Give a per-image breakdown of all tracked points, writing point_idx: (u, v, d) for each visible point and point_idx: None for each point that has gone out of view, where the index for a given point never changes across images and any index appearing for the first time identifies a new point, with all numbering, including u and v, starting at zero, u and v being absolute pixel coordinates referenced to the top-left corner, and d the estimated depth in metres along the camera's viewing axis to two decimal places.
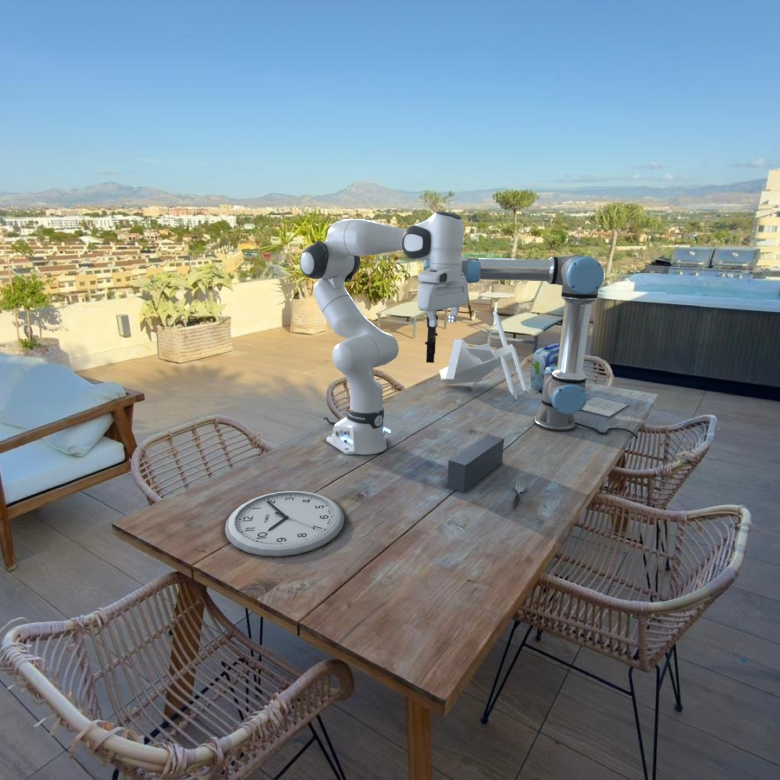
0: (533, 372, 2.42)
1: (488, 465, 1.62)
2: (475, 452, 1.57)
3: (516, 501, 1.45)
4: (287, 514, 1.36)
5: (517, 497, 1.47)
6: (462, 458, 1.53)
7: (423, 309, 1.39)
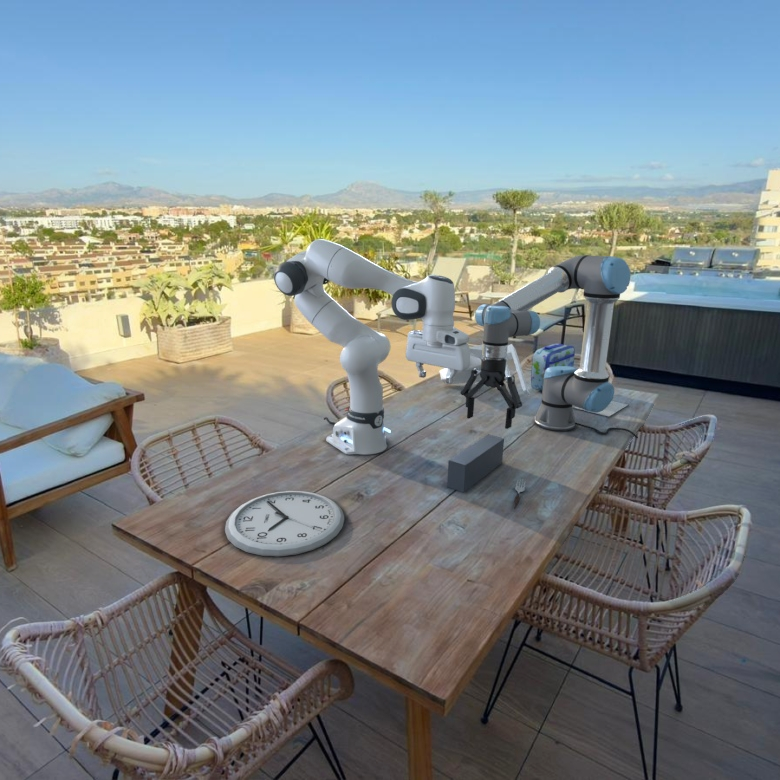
0: (533, 372, 2.42)
1: (488, 465, 1.62)
2: (475, 452, 1.57)
3: (516, 501, 1.45)
4: (287, 514, 1.36)
5: (517, 497, 1.47)
6: (462, 458, 1.53)
7: None
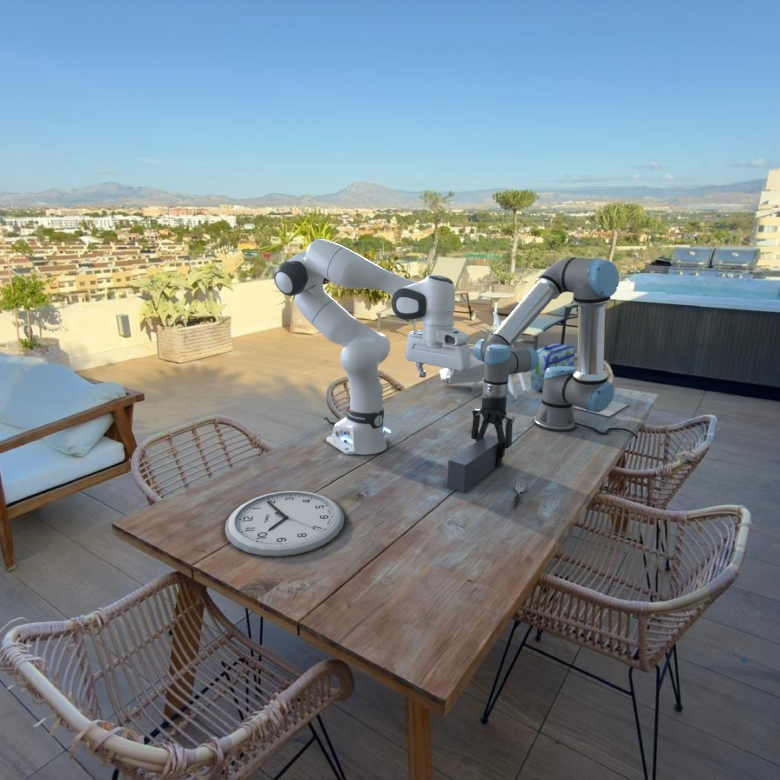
0: (533, 372, 2.42)
1: (488, 465, 1.62)
2: (475, 452, 1.57)
3: (516, 501, 1.45)
4: (287, 514, 1.36)
5: (517, 497, 1.47)
6: (462, 458, 1.53)
7: None
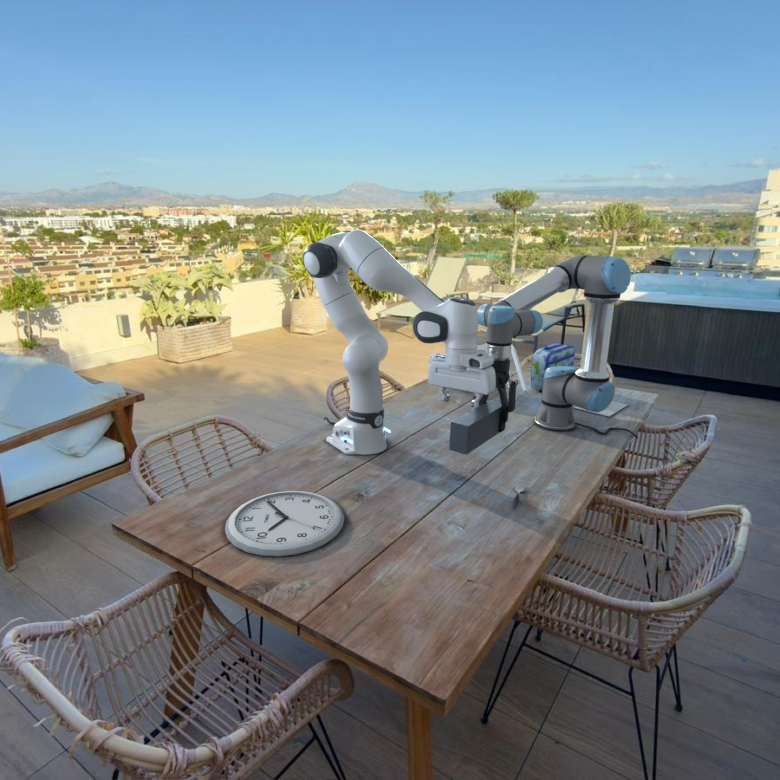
0: (533, 372, 2.42)
1: (491, 430, 1.58)
2: (478, 415, 1.54)
3: (516, 501, 1.45)
4: (287, 514, 1.36)
5: (517, 497, 1.47)
6: (464, 420, 1.49)
7: (492, 392, 1.42)
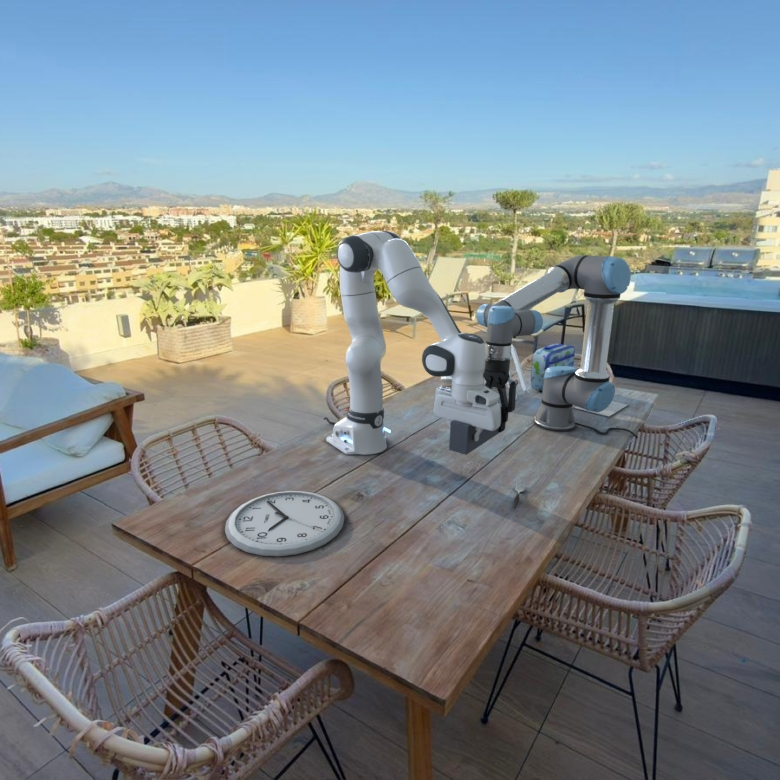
0: (533, 372, 2.42)
1: None
2: None
3: (516, 501, 1.45)
4: (287, 514, 1.36)
5: (517, 497, 1.47)
6: None
7: (496, 428, 1.44)
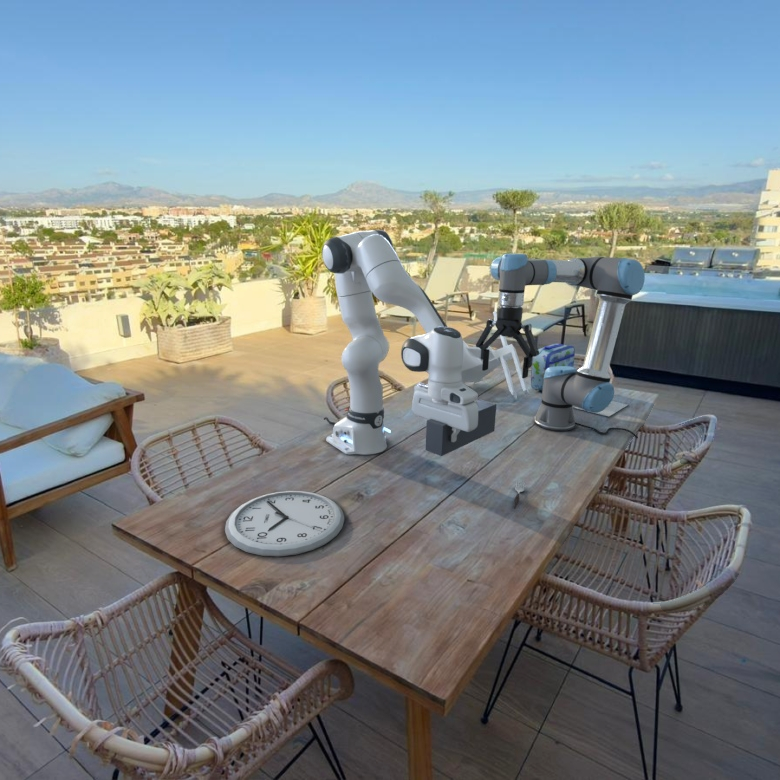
0: (533, 372, 2.42)
1: (475, 431, 1.49)
2: None
3: (516, 501, 1.45)
4: (287, 514, 1.36)
5: (517, 497, 1.47)
6: None
7: (473, 429, 1.34)
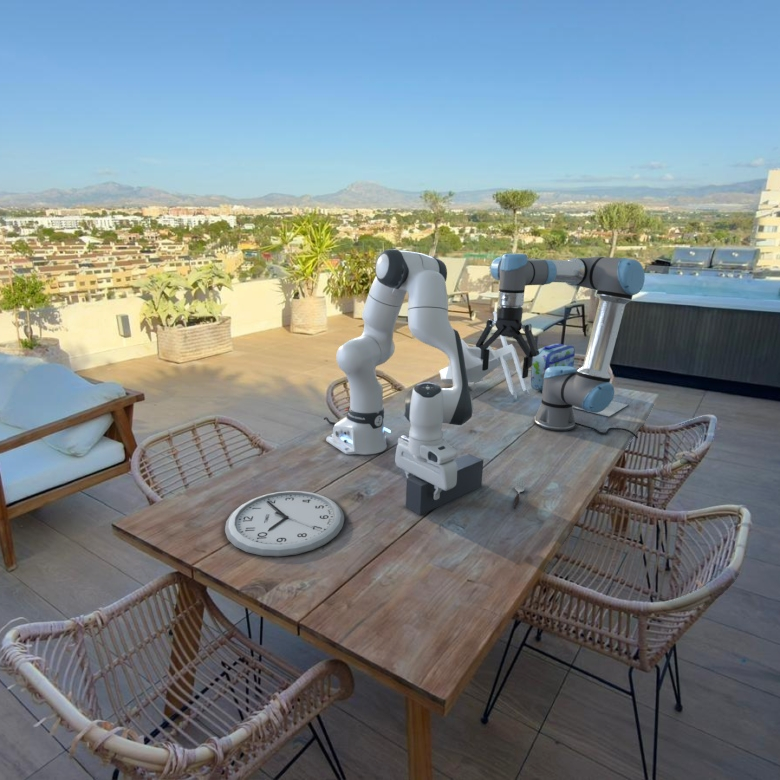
0: (533, 372, 2.42)
1: (459, 488, 1.48)
2: None
3: (516, 501, 1.45)
4: (287, 514, 1.36)
5: (517, 497, 1.47)
6: None
7: (451, 488, 1.33)
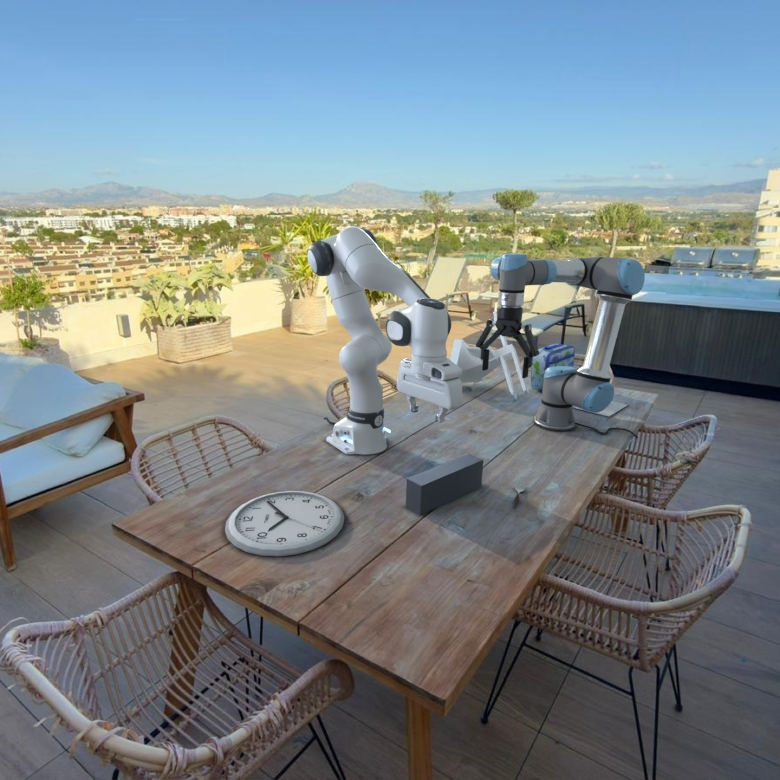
0: (533, 372, 2.42)
1: (459, 488, 1.48)
2: (441, 472, 1.44)
3: (516, 501, 1.45)
4: (287, 514, 1.36)
5: (517, 497, 1.47)
6: (422, 477, 1.40)
7: (455, 407, 1.26)
